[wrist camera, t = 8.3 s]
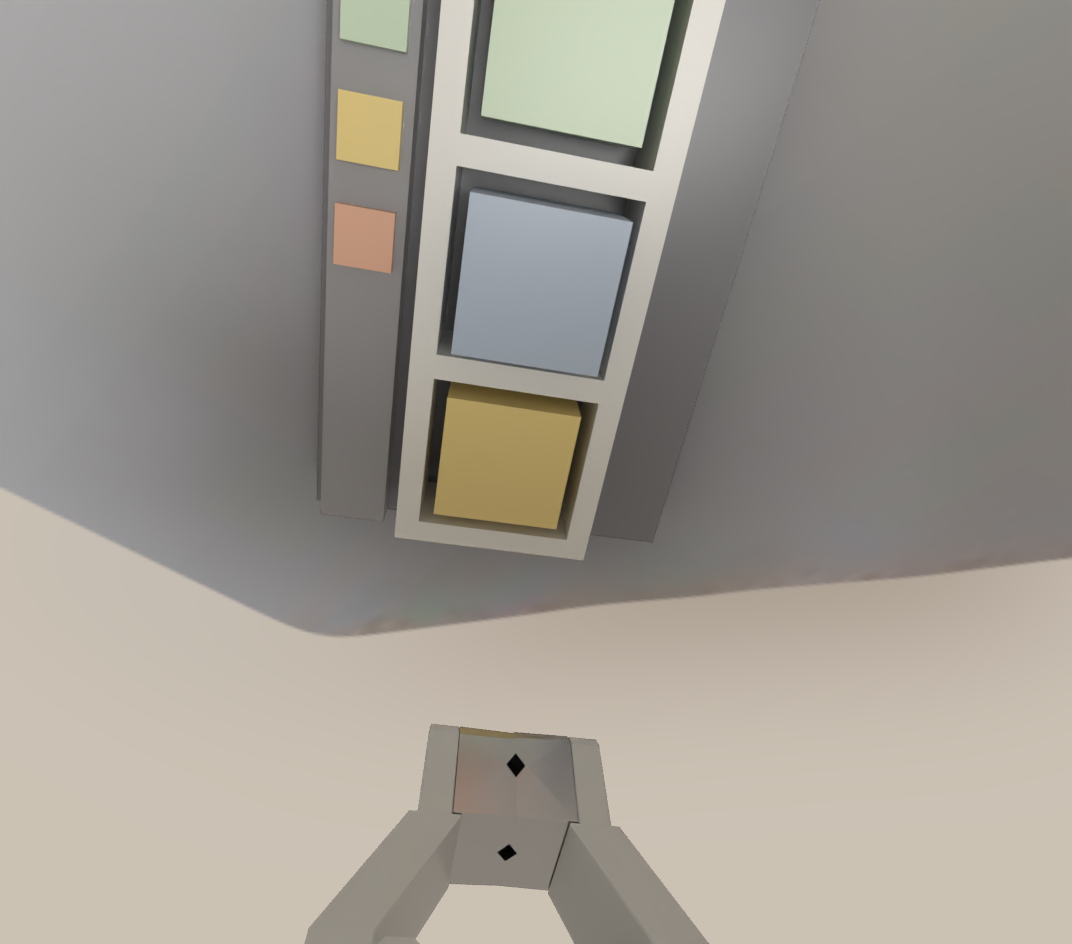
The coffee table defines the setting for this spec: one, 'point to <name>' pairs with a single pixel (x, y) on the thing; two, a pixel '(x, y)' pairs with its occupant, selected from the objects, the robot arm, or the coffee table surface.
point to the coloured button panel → (547, 173)
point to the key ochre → (505, 455)
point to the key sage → (576, 66)
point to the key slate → (538, 281)
